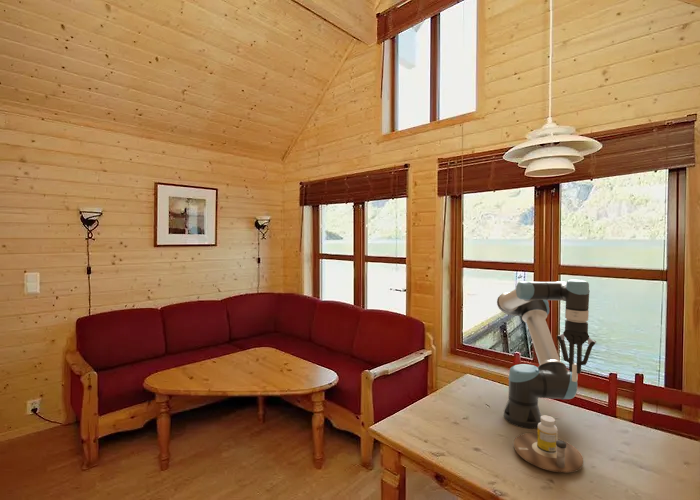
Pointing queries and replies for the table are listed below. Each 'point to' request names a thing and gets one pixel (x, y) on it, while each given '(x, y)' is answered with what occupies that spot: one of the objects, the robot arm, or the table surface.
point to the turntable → (558, 462)
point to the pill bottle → (547, 435)
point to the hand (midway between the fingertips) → (574, 380)
